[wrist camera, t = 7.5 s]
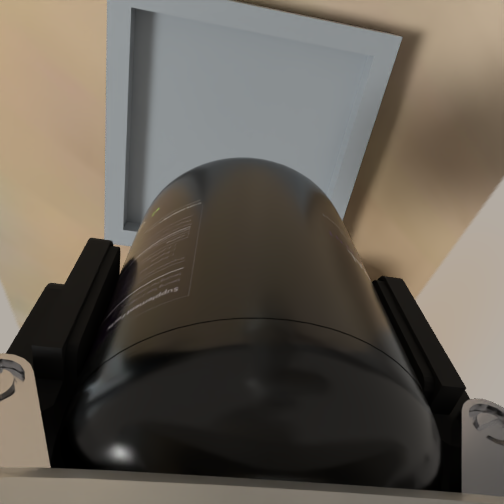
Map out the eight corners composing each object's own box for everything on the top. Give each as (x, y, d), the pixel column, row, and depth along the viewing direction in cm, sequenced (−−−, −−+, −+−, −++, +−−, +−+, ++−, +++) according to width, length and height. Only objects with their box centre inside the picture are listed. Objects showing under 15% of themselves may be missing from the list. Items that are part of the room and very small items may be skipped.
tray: (115, -25, 19) (107, -25, 18) (392, 33, 21) (402, 36, 20) (110, 229, 26) (104, 242, 25) (321, 258, 28) (325, 271, 27)
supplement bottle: (384, 223, 15) (745, 785, 4) (263, 350, 17) (311, 877, 7) (209, 101, 12) (111, 677, 2) (101, 269, 15) (-168, 874, 5)
